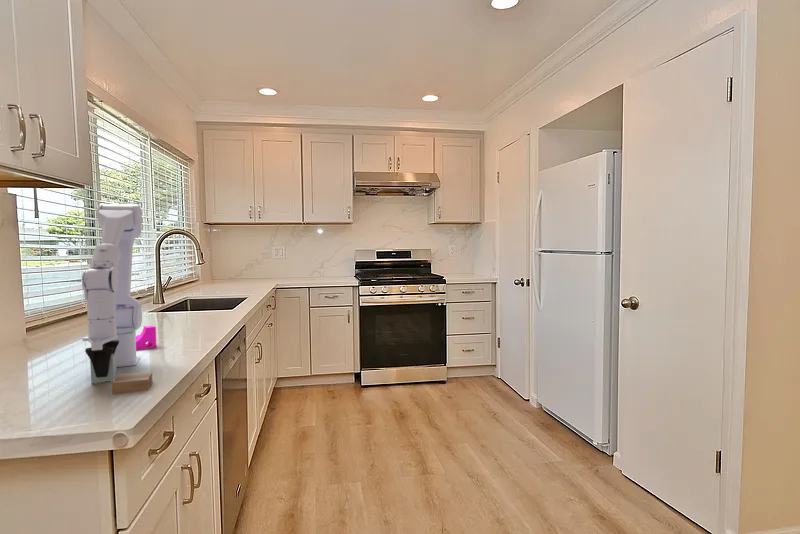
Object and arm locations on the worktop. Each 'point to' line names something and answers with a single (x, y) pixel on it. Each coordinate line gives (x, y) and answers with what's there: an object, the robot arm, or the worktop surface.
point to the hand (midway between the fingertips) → (104, 374)
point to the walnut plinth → (132, 382)
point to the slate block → (111, 372)
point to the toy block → (146, 338)
